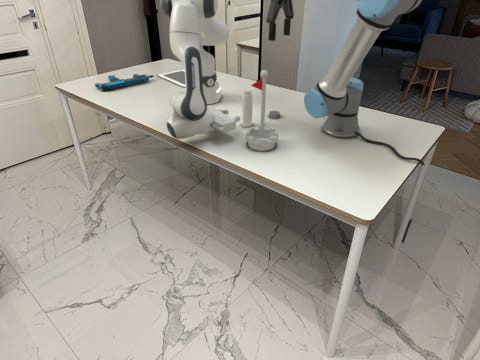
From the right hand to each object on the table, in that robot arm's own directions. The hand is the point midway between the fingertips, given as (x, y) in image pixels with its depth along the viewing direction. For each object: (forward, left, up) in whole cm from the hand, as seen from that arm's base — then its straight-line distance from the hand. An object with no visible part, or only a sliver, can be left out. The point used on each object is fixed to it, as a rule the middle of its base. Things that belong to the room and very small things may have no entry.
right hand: (279, 37), depth 144 cm
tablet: (+80, +21, -36) cm, 90 cm away
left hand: (-4, +24, -29) cm, 38 cm away
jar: (-3, +16, -36) cm, 39 cm away
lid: (0, 0, -34) cm, 34 cm away
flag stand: (-23, +20, -36) cm, 47 cm away
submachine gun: (+87, +57, -36) cm, 110 cm away
